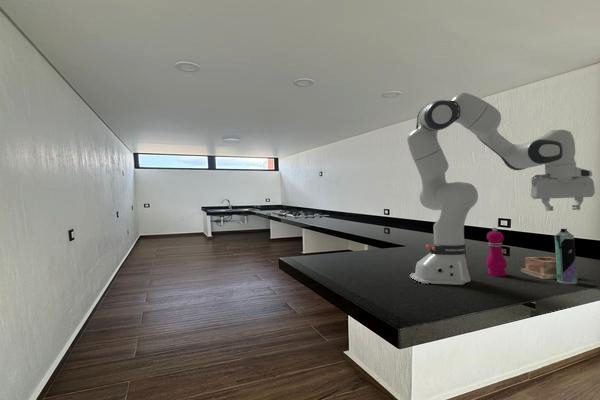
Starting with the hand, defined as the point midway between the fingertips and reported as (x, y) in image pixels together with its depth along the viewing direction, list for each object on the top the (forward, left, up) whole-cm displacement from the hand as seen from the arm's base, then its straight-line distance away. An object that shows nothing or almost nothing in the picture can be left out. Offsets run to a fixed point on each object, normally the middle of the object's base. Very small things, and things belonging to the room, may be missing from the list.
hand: (562, 210), depth 110 cm
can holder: (+2, +12, -27) cm, 30 cm away
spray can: (0, 0, -27) cm, 27 cm away
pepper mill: (-17, +14, -27) cm, 35 cm away
